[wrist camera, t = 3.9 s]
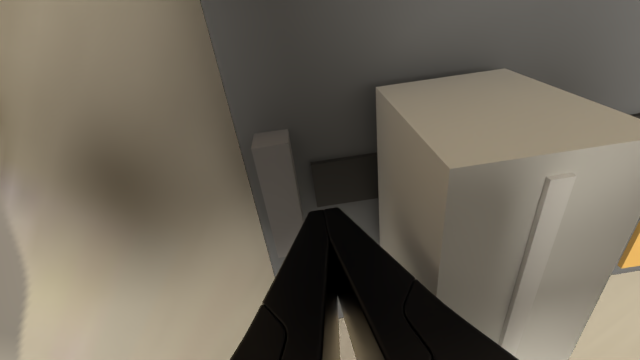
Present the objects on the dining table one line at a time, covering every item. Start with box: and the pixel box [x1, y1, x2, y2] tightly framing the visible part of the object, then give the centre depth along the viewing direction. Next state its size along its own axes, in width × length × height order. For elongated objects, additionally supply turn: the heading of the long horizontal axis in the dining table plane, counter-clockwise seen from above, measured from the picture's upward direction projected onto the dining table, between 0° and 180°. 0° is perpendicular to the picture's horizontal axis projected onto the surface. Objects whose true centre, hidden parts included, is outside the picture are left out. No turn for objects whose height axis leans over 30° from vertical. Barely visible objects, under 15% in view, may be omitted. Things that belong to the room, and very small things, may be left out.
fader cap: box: [376, 68, 640, 360], centre depth 8 cm, size 6×4×5 cm, turn 7°
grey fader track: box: [200, 0, 640, 319], centre depth 11 cm, size 14×24×2 cm, turn 97°
